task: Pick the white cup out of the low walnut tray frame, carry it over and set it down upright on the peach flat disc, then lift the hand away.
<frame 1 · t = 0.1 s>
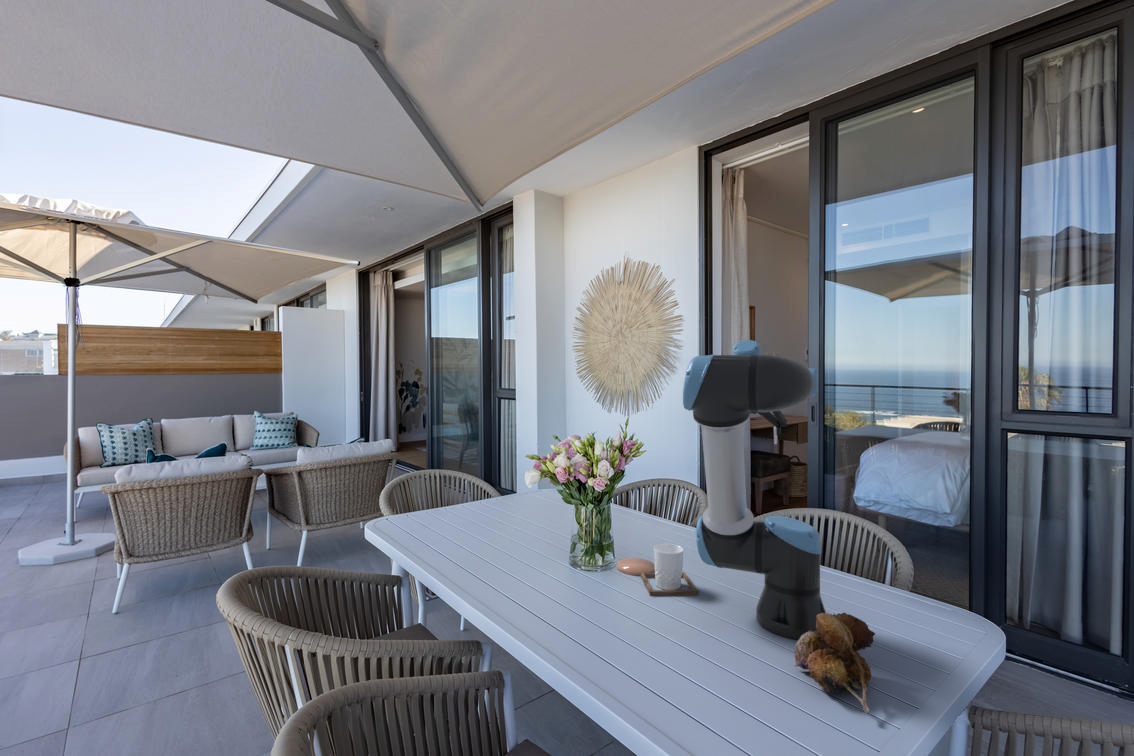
hand: (753, 440, 166), 36 cm above the table, tool tilted 35°, fingers open, 13 cm apart
white cup: (668, 586, 138), resting in walnut tray frame
walnut tray frame: (668, 585, 138), on the table
peach flat disc: (635, 568, 150), on the table
seed pod: (835, 682, 95), on the table
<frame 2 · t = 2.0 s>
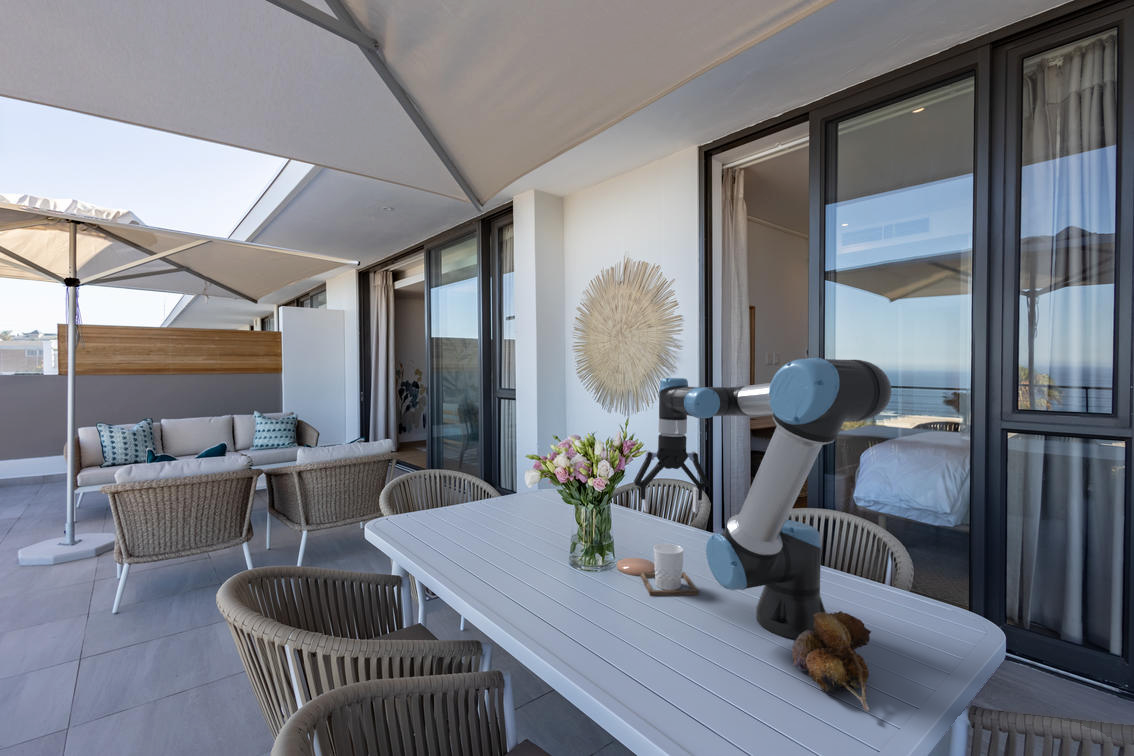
hand: (670, 511, 140), 19 cm above the table, tool pointing down, fingers open, 13 cm apart
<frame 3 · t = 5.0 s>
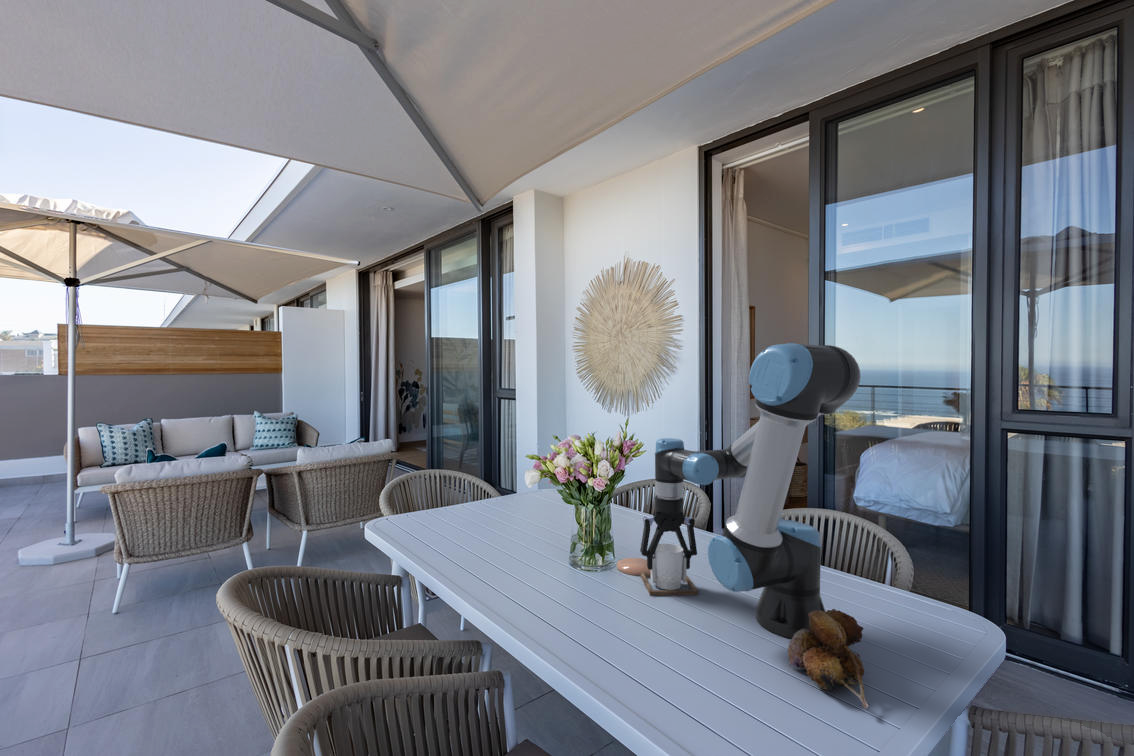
hand: (668, 580, 138), 1 cm above the table, tool pointing down, fingers closed on white cup, 8 cm apart
white cup: (668, 585, 138), resting in walnut tray frame, touching gripper
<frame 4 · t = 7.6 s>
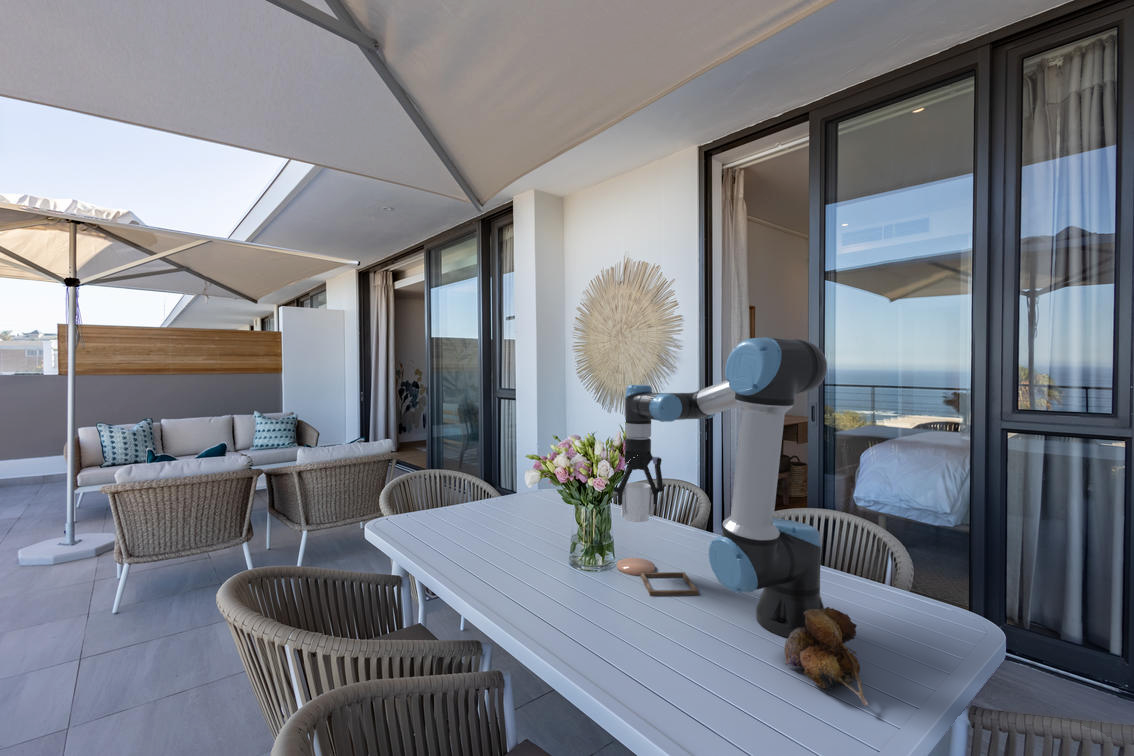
hand: (636, 515, 150), 16 cm above the table, tool pointing down, fingers closed on white cup, 8 cm apart
white cup: (636, 519, 150), point 14 cm above the table, touching gripper
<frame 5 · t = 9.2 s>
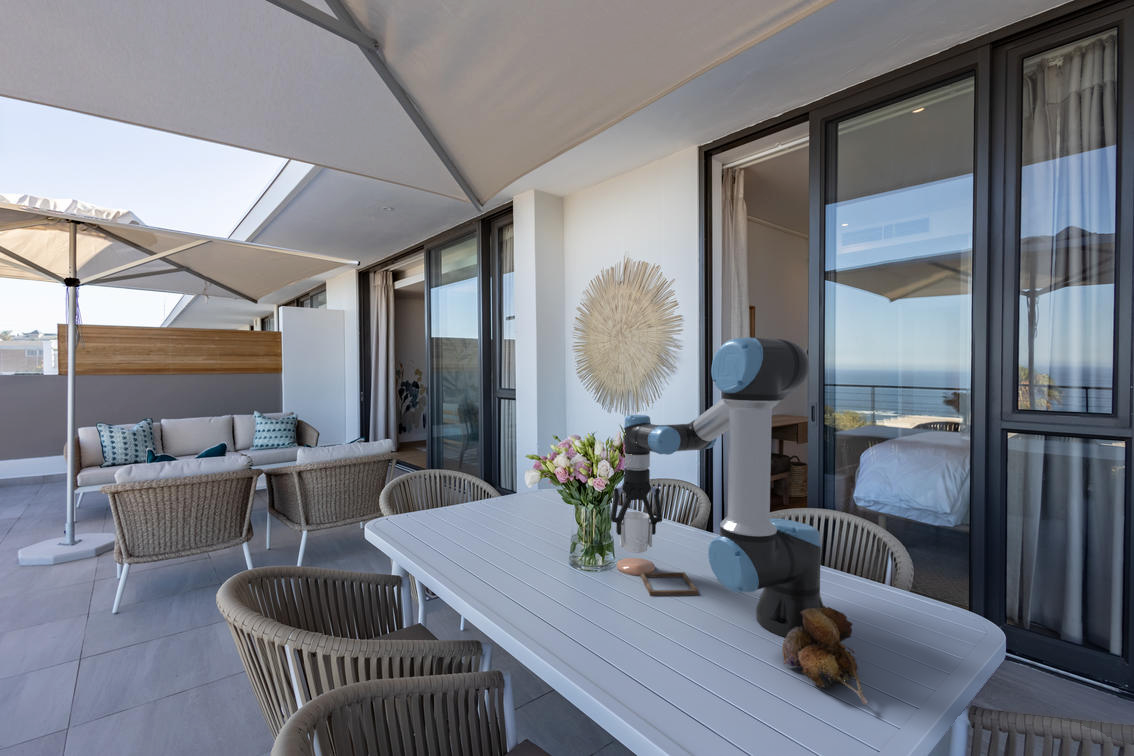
hand: (635, 545, 150), 7 cm above the table, tool pointing down, fingers closed on white cup, 8 cm apart
white cup: (635, 549, 150), point 5 cm above the table, touching gripper
when the fingers open (4 cm above the table, at t = 10.6 s): white cup drops 1 cm, resting on peach flat disc.
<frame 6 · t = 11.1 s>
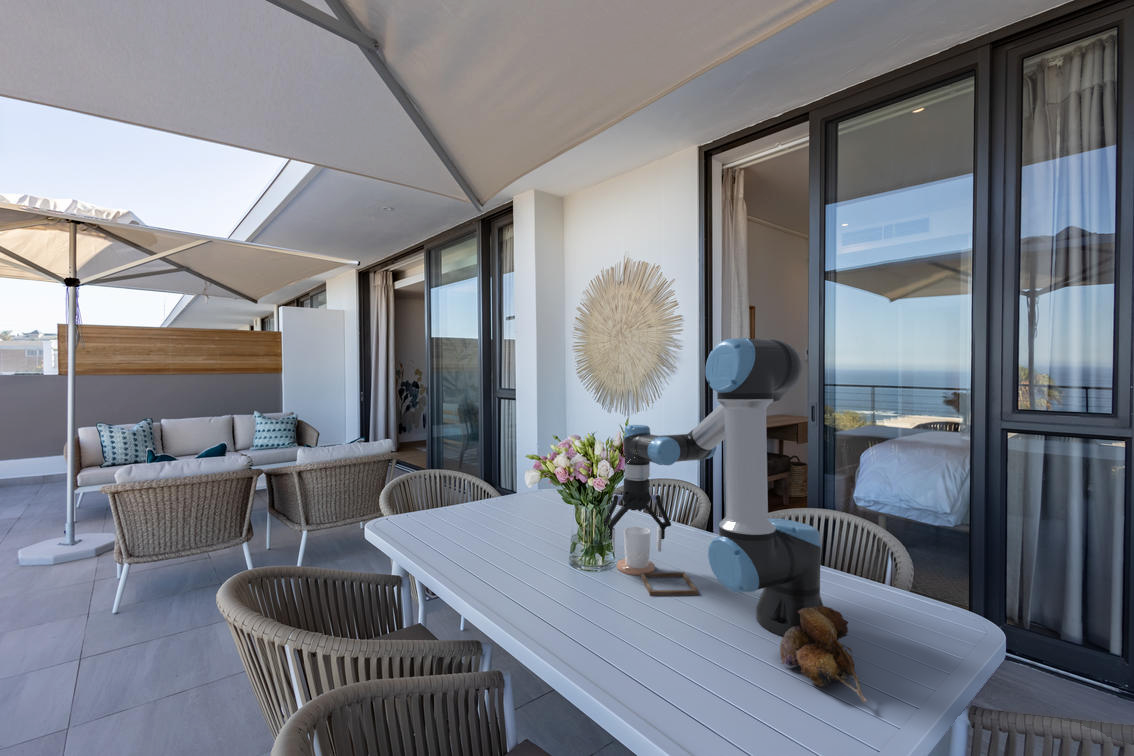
hand: (635, 550, 150), 5 cm above the table, tool pointing down, fingers open, 13 cm apart
white cup: (637, 565, 150), point 1 cm above the table, touching peach flat disc
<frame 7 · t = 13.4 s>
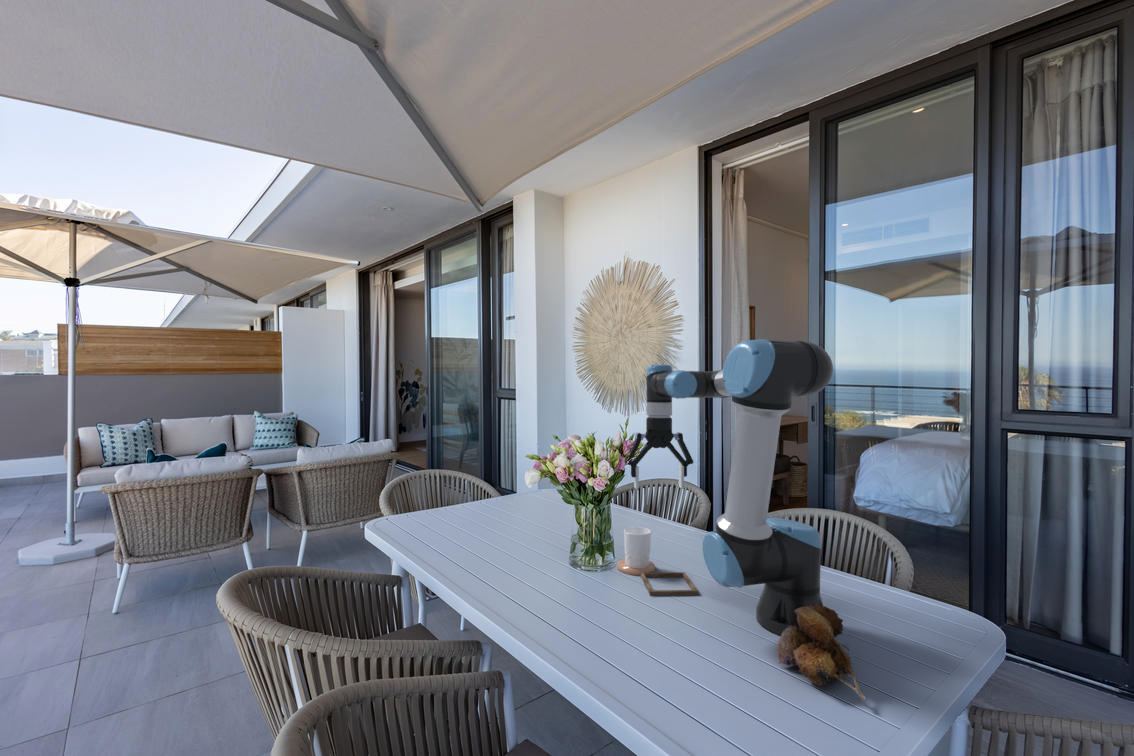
hand: (658, 488, 152), 23 cm above the table, tool pointing down, fingers open, 13 cm apart
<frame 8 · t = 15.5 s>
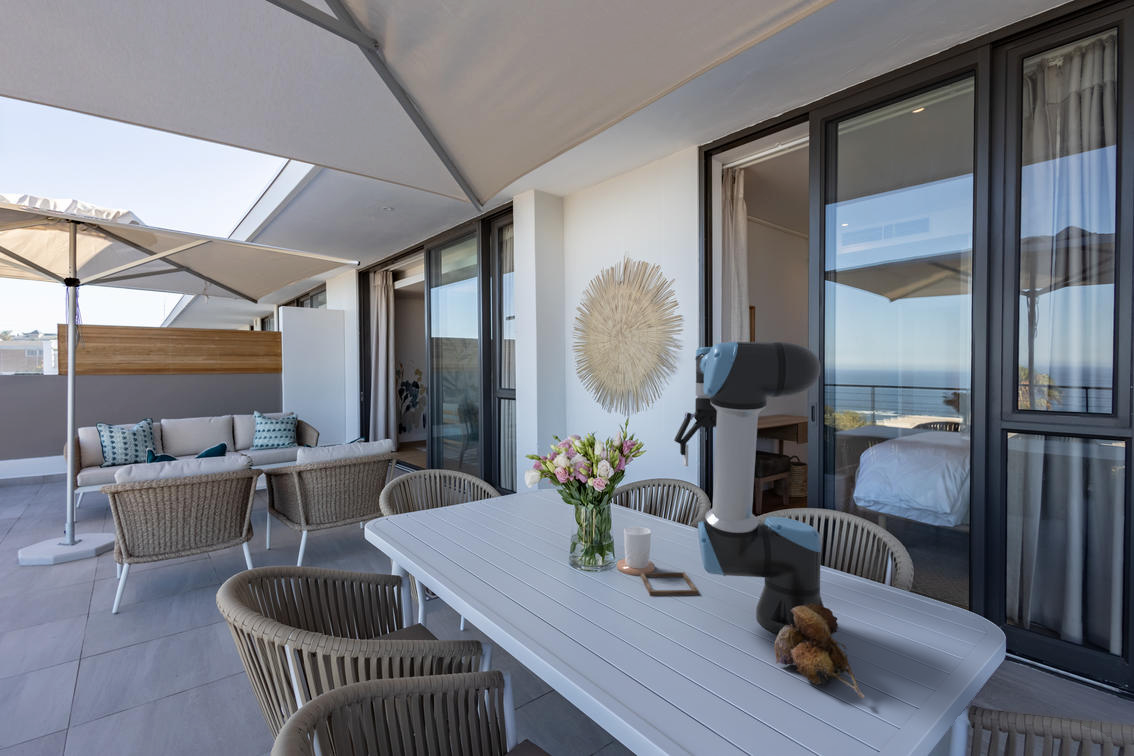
hand: (707, 465, 158), 29 cm above the table, tool pointing down, fingers open, 13 cm apart
at the end: white cup 0.3 cm off-centre on the peach flat disc, point 0.8 cm above the peach flat disc's base; white cup tilted 0°; the gripper is holding nothing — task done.
